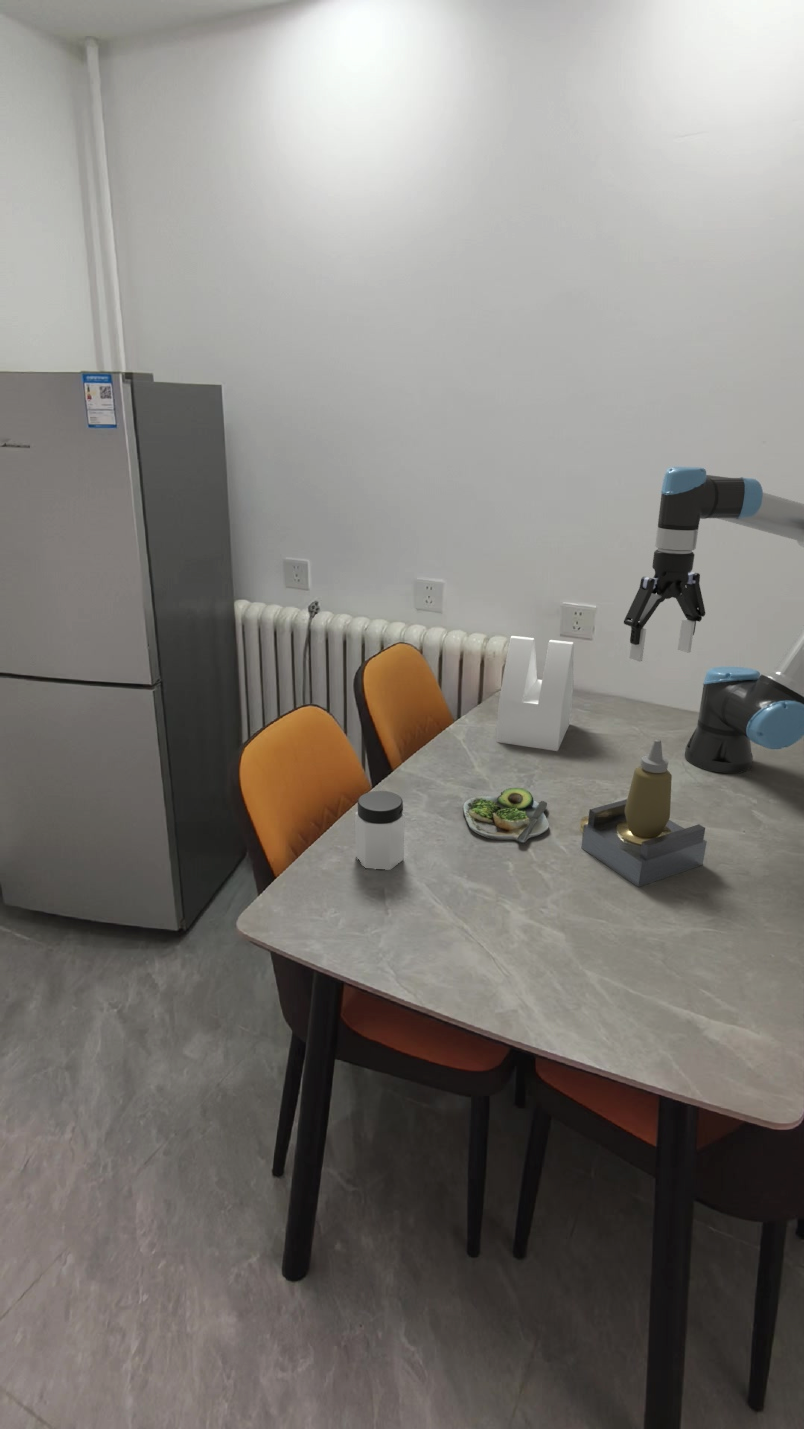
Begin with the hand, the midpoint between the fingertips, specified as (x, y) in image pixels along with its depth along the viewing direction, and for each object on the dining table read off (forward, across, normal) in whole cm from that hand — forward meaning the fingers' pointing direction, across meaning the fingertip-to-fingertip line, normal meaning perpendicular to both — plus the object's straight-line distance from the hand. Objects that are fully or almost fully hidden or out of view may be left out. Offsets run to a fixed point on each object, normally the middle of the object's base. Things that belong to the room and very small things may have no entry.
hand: (660, 655), depth 162 cm
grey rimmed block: (+31, +19, +19) cm, 42 cm away
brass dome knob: (+32, +20, +8) cm, 38 cm away
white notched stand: (+32, -1, -39) cm, 51 cm away
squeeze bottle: (+26, +19, +19) cm, 38 cm away
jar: (+32, +63, -3) cm, 71 cm away
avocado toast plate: (+32, +33, -4) cm, 46 cm away
